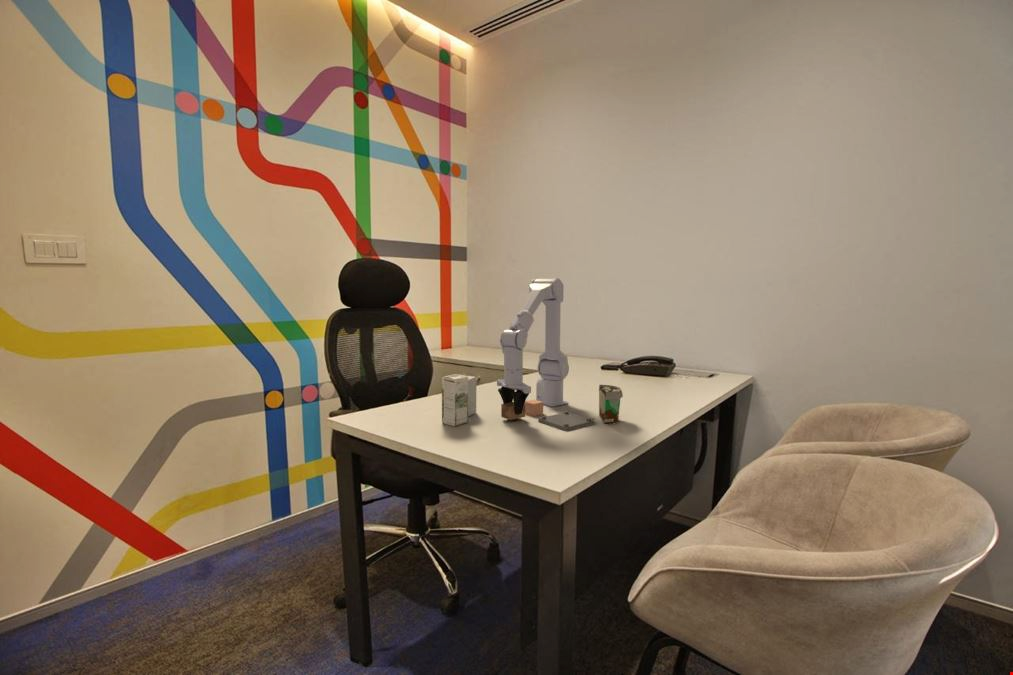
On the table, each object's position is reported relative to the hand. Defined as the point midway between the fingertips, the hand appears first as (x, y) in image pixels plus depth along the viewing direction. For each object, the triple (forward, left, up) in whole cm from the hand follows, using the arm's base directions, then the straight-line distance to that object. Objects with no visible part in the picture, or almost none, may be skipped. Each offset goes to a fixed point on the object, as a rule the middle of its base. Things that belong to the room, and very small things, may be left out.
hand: (513, 412), depth 150 cm
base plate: (+12, +11, -2) cm, 16 cm away
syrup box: (-8, -16, -3) cm, 18 cm away
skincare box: (-14, -8, -3) cm, 16 cm away
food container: (+19, +24, -3) cm, 30 cm away
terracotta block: (-2, +10, -3) cm, 11 cm away
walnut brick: (0, 0, -1) cm, 1 cm away
